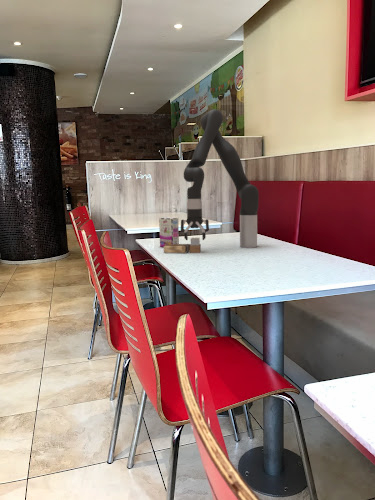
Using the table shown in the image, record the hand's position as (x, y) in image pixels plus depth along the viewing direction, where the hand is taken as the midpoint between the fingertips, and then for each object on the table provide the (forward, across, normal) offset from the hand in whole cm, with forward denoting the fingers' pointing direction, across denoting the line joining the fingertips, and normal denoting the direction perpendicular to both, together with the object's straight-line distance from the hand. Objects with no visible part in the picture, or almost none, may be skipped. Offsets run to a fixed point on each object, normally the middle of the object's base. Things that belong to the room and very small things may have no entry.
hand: (195, 239), depth 217 cm
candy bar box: (+6, -16, +15) cm, 23 cm away
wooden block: (+6, -7, 0) cm, 9 cm away
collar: (+3, 0, 0) cm, 3 cm away
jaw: (+6, -10, -3) cm, 12 cm away
